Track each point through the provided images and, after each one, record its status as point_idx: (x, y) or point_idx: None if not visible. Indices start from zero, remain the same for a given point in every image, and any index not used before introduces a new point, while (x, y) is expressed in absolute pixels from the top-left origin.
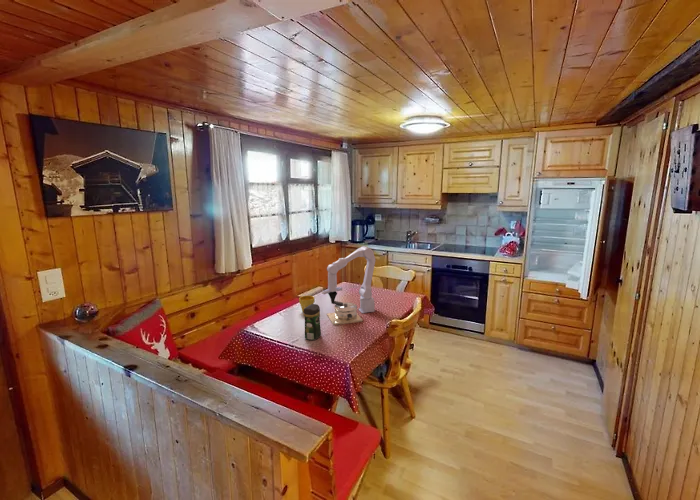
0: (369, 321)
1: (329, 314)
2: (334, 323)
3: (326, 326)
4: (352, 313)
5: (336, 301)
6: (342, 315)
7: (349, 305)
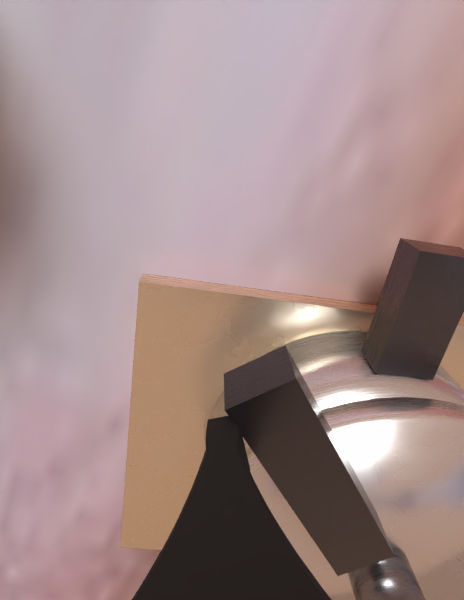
0: None
1: (167, 329)
2: (133, 546)
3: (55, 528)
4: None
5: (321, 466)
6: None
7: (446, 560)
